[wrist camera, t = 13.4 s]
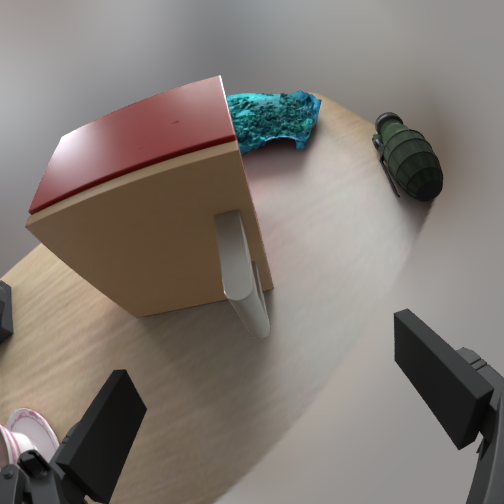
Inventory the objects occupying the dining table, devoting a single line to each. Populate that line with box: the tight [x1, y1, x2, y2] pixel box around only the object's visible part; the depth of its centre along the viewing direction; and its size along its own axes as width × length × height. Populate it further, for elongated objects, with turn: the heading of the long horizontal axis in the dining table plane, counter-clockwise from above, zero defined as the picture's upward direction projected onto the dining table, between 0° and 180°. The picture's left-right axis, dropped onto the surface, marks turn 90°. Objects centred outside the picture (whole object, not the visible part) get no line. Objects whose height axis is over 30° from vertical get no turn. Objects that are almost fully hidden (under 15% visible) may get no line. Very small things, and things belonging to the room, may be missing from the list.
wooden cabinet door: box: [25, 141, 274, 339], centre depth 18 cm, size 6×13×15 cm, turn 100°
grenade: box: [372, 112, 443, 202], centre depth 27 cm, size 6×6×12 cm
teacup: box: [0, 408, 60, 472], centre depth 15 cm, size 12×12×6 cm
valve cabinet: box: [29, 76, 267, 258], centre depth 22 cm, size 8×13×15 cm, turn 100°
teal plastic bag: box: [226, 90, 322, 156], centre depth 37 cm, size 18×16×2 cm
